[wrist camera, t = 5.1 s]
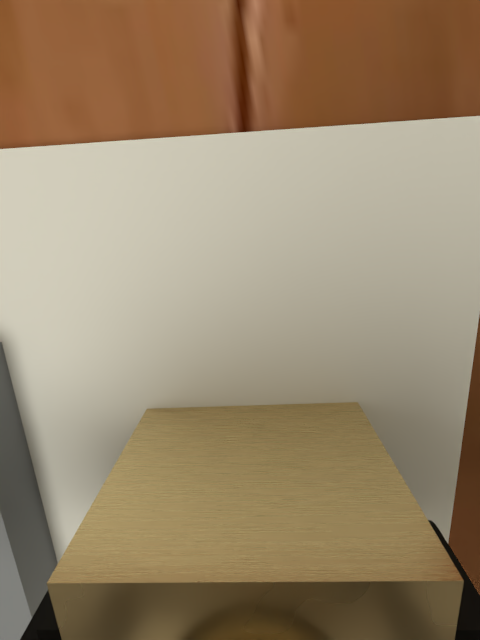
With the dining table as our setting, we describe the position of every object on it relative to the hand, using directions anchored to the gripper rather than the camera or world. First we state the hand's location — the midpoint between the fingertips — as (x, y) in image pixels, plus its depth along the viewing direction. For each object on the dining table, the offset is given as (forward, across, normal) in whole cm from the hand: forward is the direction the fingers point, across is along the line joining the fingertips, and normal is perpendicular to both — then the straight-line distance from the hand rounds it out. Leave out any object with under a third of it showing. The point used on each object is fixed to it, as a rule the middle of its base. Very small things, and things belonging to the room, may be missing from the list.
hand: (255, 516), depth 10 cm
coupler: (+1, 0, 0) cm, 1 cm away
